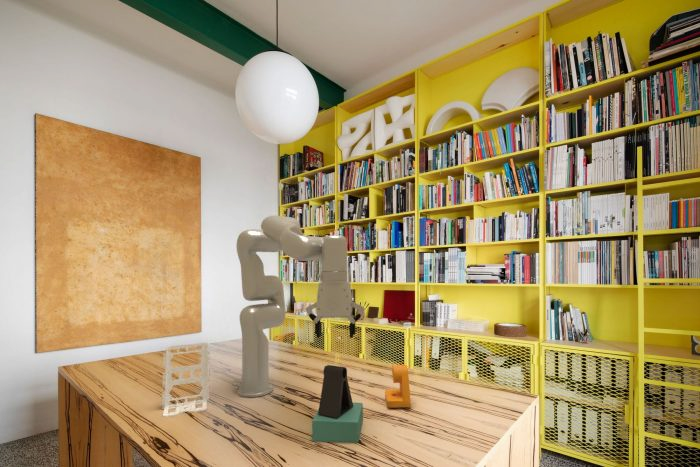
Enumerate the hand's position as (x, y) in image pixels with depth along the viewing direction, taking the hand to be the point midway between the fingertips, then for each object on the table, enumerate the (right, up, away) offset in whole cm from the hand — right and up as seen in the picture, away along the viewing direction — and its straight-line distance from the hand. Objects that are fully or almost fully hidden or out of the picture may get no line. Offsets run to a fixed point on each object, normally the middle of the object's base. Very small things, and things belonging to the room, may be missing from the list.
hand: (335, 336), depth 101 cm
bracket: (+20, -26, +13) cm, 35 cm away
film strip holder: (-50, -28, +15) cm, 60 cm away
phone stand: (0, -20, -4) cm, 20 cm away
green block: (+1, -24, -5) cm, 25 cm away
